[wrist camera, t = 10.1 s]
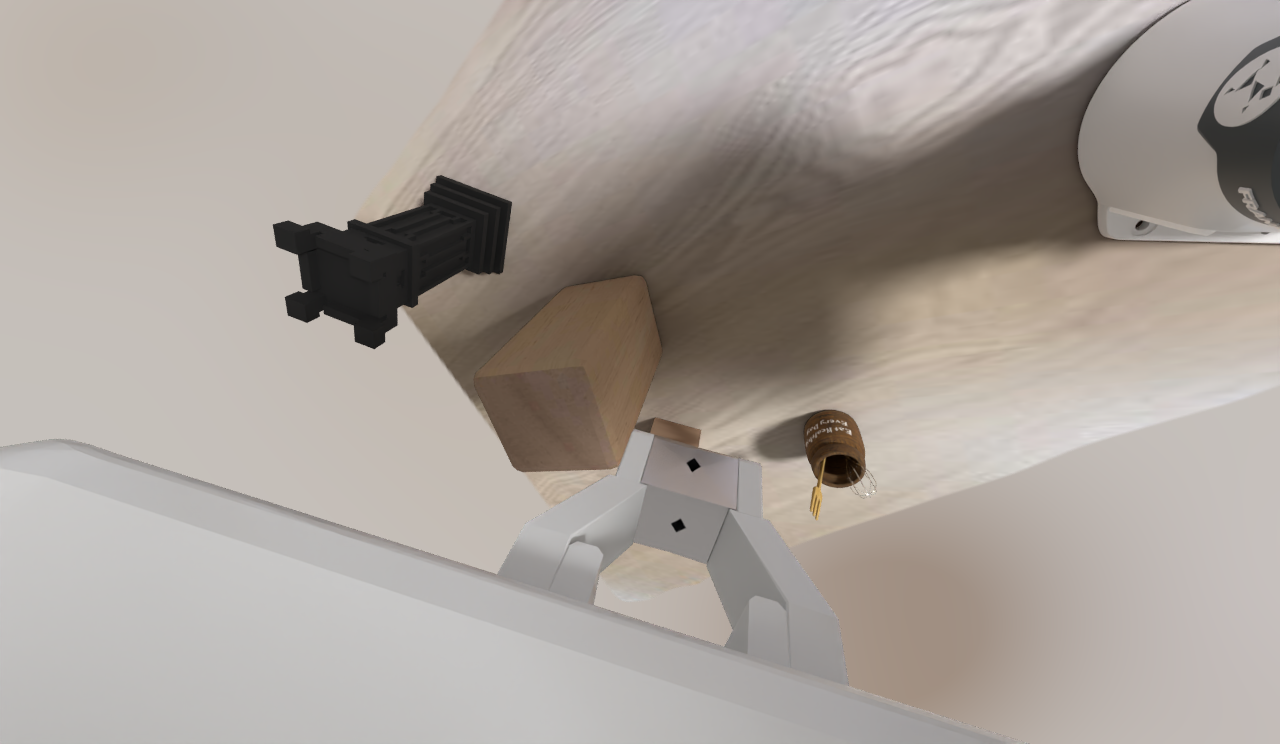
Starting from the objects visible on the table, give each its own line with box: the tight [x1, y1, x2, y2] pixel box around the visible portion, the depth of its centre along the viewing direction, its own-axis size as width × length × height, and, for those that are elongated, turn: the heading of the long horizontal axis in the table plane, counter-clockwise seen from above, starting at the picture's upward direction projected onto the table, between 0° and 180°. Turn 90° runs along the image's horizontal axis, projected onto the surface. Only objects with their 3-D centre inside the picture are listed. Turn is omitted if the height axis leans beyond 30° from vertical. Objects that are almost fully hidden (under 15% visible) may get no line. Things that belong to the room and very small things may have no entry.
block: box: [474, 275, 662, 472], centre depth 43 cm, size 10×10×20 cm
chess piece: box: [273, 175, 512, 349], centre depth 41 cm, size 8×8×20 cm
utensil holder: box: [804, 410, 877, 520], centre depth 47 cm, size 6×6×12 cm
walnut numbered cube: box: [650, 418, 701, 447], centre depth 56 cm, size 6×6×6 cm
